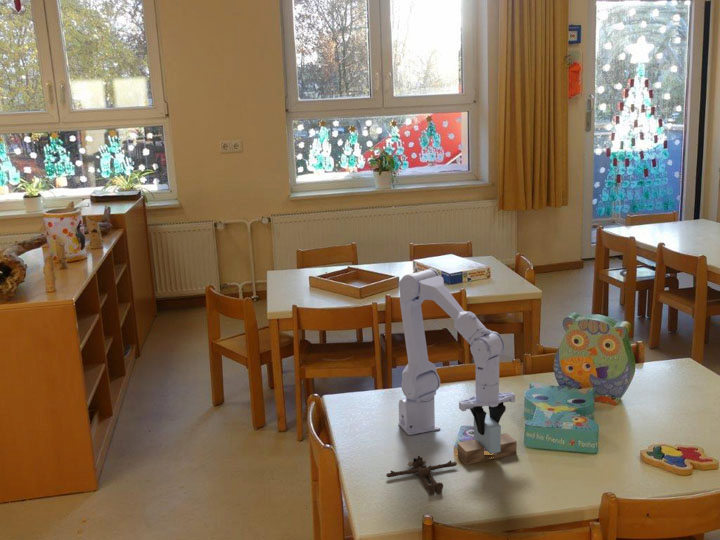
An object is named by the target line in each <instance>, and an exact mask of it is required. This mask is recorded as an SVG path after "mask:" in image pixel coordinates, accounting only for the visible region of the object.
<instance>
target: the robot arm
mask: <svg viewBox="0 0 720 540" xmlns="http://www.w3.org/2000/svg"><path fill="white" fill-rule="evenodd" d="M398 288H399V289H398V290H399V304H400V312H401V319H402V328H403V333H404V341H405V348H406V354H407V362H408V363H407V364H406V366H405V368H404V369H403V371H402V372H401V378H402V380H401V391H402V393H403V395H404V398H401V399H399V401H398V422H397V423H398V425H399V426H400V427H401V429H402V430H403V431H404V432H405V433H406V434H407V435H408V436H412V435H417V434H422V433H427V432H429V433H430V432H433V431H439V430H441V426H439V425H438V423H437V422H436V419H435V418H436V417H435V415H436V414H435V409H436V408H435V406H436V405H435V396H436V395H437V391H438V390H439V388H440V387H441V378H440V376H439V374H438V371H437V366H436V364H434V363H432V361H429V355H428V348H427V347H428V346H427V341H426V334H425V325H424V318H423V317H424V316H423V312H422V311H423V310H422V304H423V303H424V301H433V302H435V304H437V306H439V308H441V309H442V310H443V311H444V313H446V314H447V315H448V316H449V317H450V318H451V319H452V320H453V327H454V329H455V330H456V331H457V332H458V333H459V334H460V335H461V336H462V338H463V339H464V340H465V341H466V342H467V343H468V344H469V346H470V347H469V348H470V352H471V355H472V356H473V363H474V366H475V395H474V396H471V397H469V398H466V399H464V400H460V401H458V409H459V410H460V411H461V412H466V411H467V410H470V412H471V414H472V416H473V420H474V419H475V422H476V425H477V429H478V432H479V433H480V434H481V435H484V431H485V425H484V424H485V417H486V414H488V413H487V412H486V411H485V410H484V407H488V411H489V414H488V415H489V416H490V417H491V418H492V419H493V420H495V421H496V422H497V423H498V424H499V425H500V420H501V419H502V417H503V414H504V413H505V412H506V410H507V408H506V405H504V403H509V402H510V403H515V402H516V395H515V393H513V392H512V391H508V392H500V355H501V354H502V353H503V352H504V350H505V341H504V339H503V338H502V336H501V335H500V333H498V332H497V331H493V330H491V329H488V328H487V327H486V326H485V325H484V324H483V323H482V322H481V321H480V320H479V318H478V317H477V315H476V314H475V313H474V312H472V311H468V310H467V311H466V310H464V309H463V308H462V306H461V305H460V304H459V302H458V301H457V300H456V299H455V297H454V296H453V295H452V293H451V291H449V290H448V288H447V287H446V286H445V280H444V277H442V275H440V273H439V272H438V270H436V269H435V268H432V267H430V268H426V269H425V270H421V271H417V272H414V273H409V274H408V273H407V274H404V275H403V276H402V278H400V280H399V281H398Z"/></svg>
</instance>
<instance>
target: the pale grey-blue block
mask: <svg viewBox="0 0 720 540" xmlns="http://www.w3.org/2000/svg"><path fill="white" fill-rule="evenodd" d="M484 425H485V431H484V435H481V434H480V433H479V432H478V429H477V425H476V422H475V419H474V418H473V440H474V439H475V440H476V441H477V442H478V443H479V444H480V445H482V446H483V447H484V448H485V449H486V450H487V451H488V452H489V453H490V454H492V453H497V452H501V434H502V433H501V432H502V426H501V424H500V423H499V424H498V423H497V422H496V421H495V420H493V419H492V418H491V417H490V414H488V413H487V414H486V417H485V424H484Z"/></svg>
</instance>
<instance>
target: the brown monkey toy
mask: <svg viewBox="0 0 720 540" xmlns="http://www.w3.org/2000/svg"><path fill="white" fill-rule="evenodd" d="M426 463H427V461H426V460H425V459H423V457H421V455H418V456H417V457H416V458H415V457H413V459H412V461H409V462H408V463H407V466H409V467H412V469H408V470H407V469H406V470H400V471H394V470H390V472H389V473H385V474H386V475H385V476H386V478H394V477H397V476H398V477H399V476H404V475H412V474H417V475H418V477H419V479H420V480H421V482H422V483H423V485H424V487H425V489H426V490H427V493H428V495H429V496H433V495H435V492H436V494H437V495H439V494H442V493H443V488H444V484H443V483H442V482H440V481H438V482H437V481H436V480H435V478H434V477H433V475H432V471H435V470H440V469H444V468H453V467H456V466H457V465H458V464H457V462H456V461H453V462H452V460H449V461H448V462H445V463H442V464H441V463H439V464H435V465H431V464H430V465H428V466H427V465H426ZM428 479H429V481H430V483H429V481H428Z"/></svg>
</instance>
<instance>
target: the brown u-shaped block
mask: <svg viewBox="0 0 720 540" xmlns="http://www.w3.org/2000/svg"><path fill="white" fill-rule="evenodd" d="M517 444H518V443H517V440H516V439H515V438H513V437H512V436H511V435H510V434H508V433H507V432H505V433H504V432H503V433H501V452H497V453H494V454H493V455H484V447H483V446H482V445H480V444H479V443H478V442H477V441H476V440H475V439H474V438H473V439H470V440H469V439H468V440H465V441H464V440H463V441H460V442H457V444H456V445H457V451H458V455H457V457H459V459H460V458H461V459H462V460H463V461H464V462H465V463H466V464H465V463H464V462H463V461H462V462H463V463H464V464H465V465H470V463H471V464H475V463H479V462H485V461H488V460H487V459H489V458H491V457H492V458H493V457H494V458H495V459H500V458H503V457H510V456H513V455H517V453H518V451H517V449H518V448H517V447H518V446H517ZM461 459H460V460H461ZM484 460H485V461H484Z"/></svg>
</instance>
